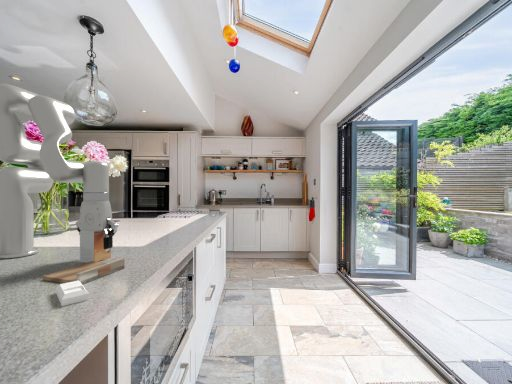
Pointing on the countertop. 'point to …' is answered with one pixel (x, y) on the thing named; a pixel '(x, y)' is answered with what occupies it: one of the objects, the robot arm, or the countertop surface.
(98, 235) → the small box
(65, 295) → the soap bar
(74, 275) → the shelf board
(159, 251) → the countertop surface
